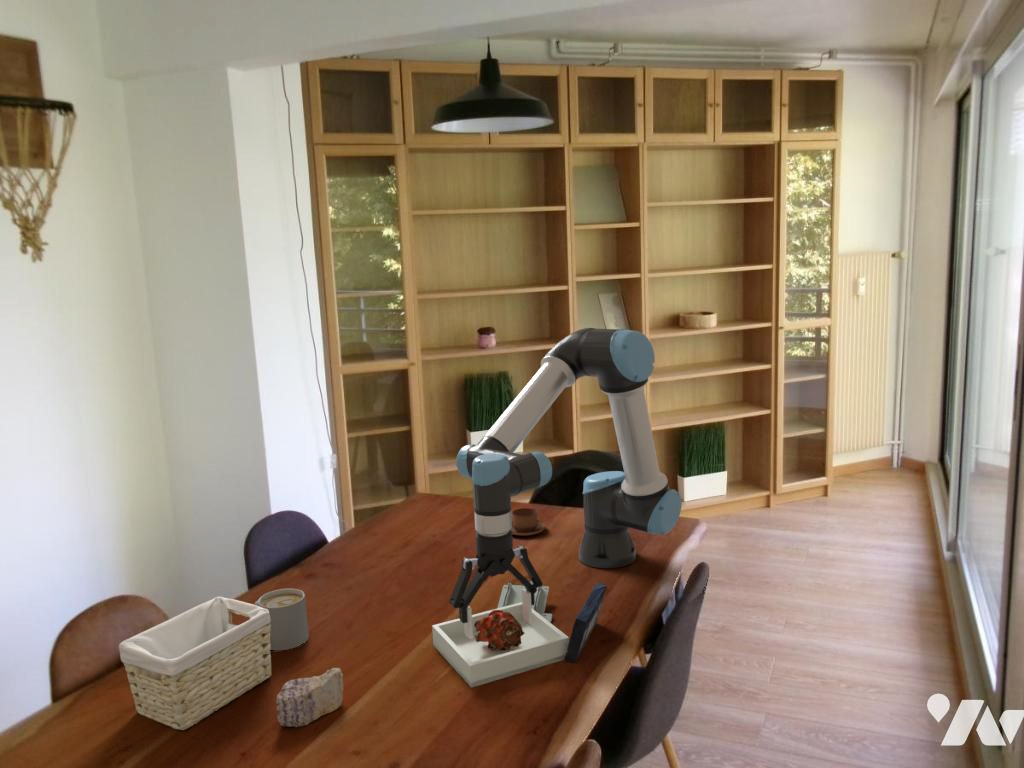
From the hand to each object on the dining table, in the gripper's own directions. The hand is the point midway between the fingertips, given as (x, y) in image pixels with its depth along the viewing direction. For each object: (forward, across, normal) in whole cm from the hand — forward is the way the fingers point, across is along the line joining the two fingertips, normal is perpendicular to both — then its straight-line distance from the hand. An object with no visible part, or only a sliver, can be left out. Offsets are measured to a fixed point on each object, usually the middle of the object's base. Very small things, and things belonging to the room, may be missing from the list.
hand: (498, 628), depth 171 cm
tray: (+5, 0, 0) cm, 5 cm away
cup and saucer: (+6, -38, -61) cm, 73 cm away
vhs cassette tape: (+6, -17, +5) cm, 18 cm away
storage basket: (+6, +57, -15) cm, 59 cm away
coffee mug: (+5, +39, -31) cm, 50 cm away
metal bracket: (+6, -13, -15) cm, 21 cm away
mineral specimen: (+6, +41, +3) cm, 41 cm away
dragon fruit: (+4, 0, 0) cm, 4 cm away
